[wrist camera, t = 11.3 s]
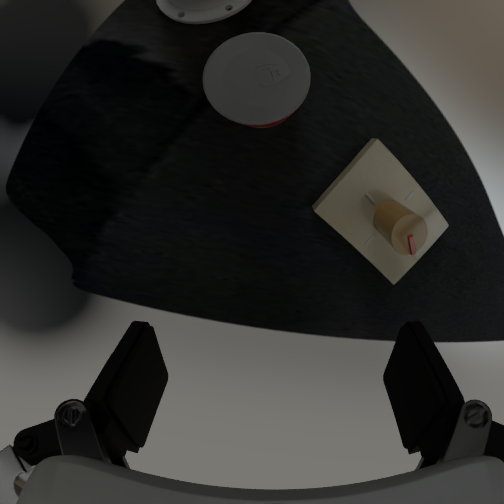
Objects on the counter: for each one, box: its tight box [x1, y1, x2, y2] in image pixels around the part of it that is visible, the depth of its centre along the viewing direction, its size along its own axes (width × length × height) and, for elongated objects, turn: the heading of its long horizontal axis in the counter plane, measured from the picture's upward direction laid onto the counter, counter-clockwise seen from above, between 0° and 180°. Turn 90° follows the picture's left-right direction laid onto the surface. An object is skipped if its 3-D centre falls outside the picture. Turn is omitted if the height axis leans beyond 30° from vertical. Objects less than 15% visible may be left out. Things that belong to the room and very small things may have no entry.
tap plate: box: [312, 138, 449, 285], centre depth 30 cm, size 15×11×2 cm
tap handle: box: [373, 200, 428, 255], centre depth 27 cm, size 4×4×6 cm
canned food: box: [203, 32, 310, 128], centre depth 22 cm, size 8×8×11 cm
